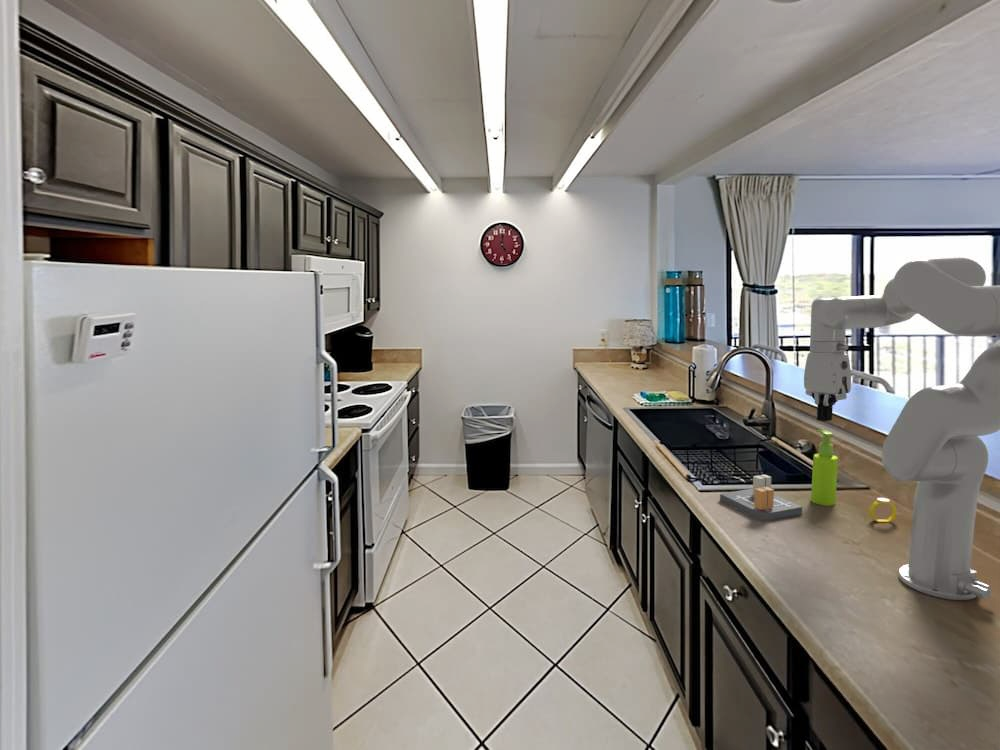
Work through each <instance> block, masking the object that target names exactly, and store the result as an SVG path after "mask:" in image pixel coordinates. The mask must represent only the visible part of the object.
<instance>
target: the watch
mask: <svg viewBox="0 0 1000 750" xmlns="http://www.w3.org/2000/svg"><path fill="white" fill-rule="evenodd" d="M881 504H882V505H883V504H884V505H890V506H891V510H892V511H891V514H890V516H888V518H885V519H884V518H883V519H877V518H876V517H875V515H874V513H875V512H874V511H875V509H876V508H877V506H879V505H881ZM868 514H869V516H870V517H871V519H872V520H873V521H875V522H876V523H878V524H879V523H891V522H893V521H894V520H895V518H897V514H898V510H897V507H896V505H895V504H894V503H893V502H891V500H890V499H889V498H886V497H877V498H876V500H875V501H873V502H872V503H871V505H870V506H869V510H868Z"/></svg>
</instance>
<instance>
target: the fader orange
mask: <svg viewBox="0 0 1000 750" xmlns="http://www.w3.org/2000/svg"><path fill="white" fill-rule="evenodd" d="M774 495H775V489H774V488H772V487H771V488H769V487H760V488H756V489H755V496H754V507H755V508H758V509H760V510H764V509H770V508H773V500H774Z"/></svg>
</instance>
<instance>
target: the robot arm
mask: <svg viewBox="0 0 1000 750" xmlns="http://www.w3.org/2000/svg"><path fill="white" fill-rule="evenodd" d="M986 280H987V275H986V271H985V269H984V268H983V266H982V265H980V264H979V263H978V262H977V261H975V260H972V259H970V258H966V257H959V256H958V257H957V256H955V257H954V256H953V257H922V258H916V259H911V260H910V261H908V262H906V263H904V264H903V265H901V267H900V268H899V269H898V270H897V271H896V273H895V275H894V276H893V278H892V279H890V280H889V281H888V282H887V283H886V285H885V287H884V290H883V294H879V295H878V294H877V295H857V296H856V295H854V296H837V297H825V298H816V299H814V300H813V301H812V302H811V305H810V306H811V308H810V309H811V311H810V314H811V315H810V337H809V339H810V341H809V352H808V354H807V357H806V359H805V360H806V361H805V366H804V372H803V373H804V374H803V388H804V389H805V392H804V393H805V394H806V395H807V396H808V397H809V396H810V397H812V398H813V400H814V404H815V405H816V408H817V410H816V421H818V422H819V421H821V422H830V421H832V419H833V406H835V405H836V403H837V402H838V401H844V400H846V399H847V394H849V393H850V392H851V389H852V388H851V387H852V375H851V373H852V372H851V363H850V357H849V355H848V353H846V352H845V351H847V350H849V345H848V344H846V331H847V330H852V329H853V330H855V329H874V328H875V329H877V328H882V327H886V326H887V327H888V326H891V325H894V324H898V323H902V322H906V321H909V320H911V318H913V317H914V316H915V315H917V314H918V315H920V316H922V318H924V319H926V320H927V321H929V322H930V323H931V324H933V325H935V326H936V327H938V328H939V329H940V330H943V331H944V332H946V333H948V334H952V335H954V336H958V337H959V336H960V337H985V336H987V337H989V336H1000V285H986V284H985V283H986ZM999 431H1000V338H999V339H998V340H997V341H996V342H994V343H992V344H991V346H989V347H988V348H986V349H985V350H983V352H981V354H979V356H977V358H975V361H973V363H972V365H971V367H970V369H969V370H968V372H967V373H966V374H965V376H964V377H963V378H962V380H960V381H959V382H957V383H955V384H948V385H934V386H928V387H925V388H922V389H920V390H918V391H917V392H915V393H914V394H913V395H912V396H911V397H910V398H909V399H907V401H906V403H905V405H904V406H903V408H902V410H901V411H900V414H899V415H898V417H897V418H896V421H894V424H893V426H892V427H891V429H890V431H889V432H888V435H887V436H886V438H885V440H884V443H883V446H882V449H881V462H882V465H883V467H884V469H885V470H886V472H887V473H888V474H889V475H890V476H891V477H893V478H894V479H897V480H900V481H902V482H909V483H910V482H911V483H914V482H915V483H916V482H917V483H918V484H917V487H916V489H915V493H914V497H913V506H912V508H913V510H912V522H911V533H910V534H911V535H910V545H909V557H908V564H903V565H902V566H901V567H899V568H898V573H897V574H898V578H899V579H900V580H901V582H903V583H904V584H905V585H907V586H908V587H910V588H912V589H914V590H916V591H918V592H920V593H922V594H924V595H925V594H926V595H929V596H933V597H935V598H940V599H944V600H945V599H946V600H952V601H969V600H973V599H975V598H977V597H978V598H980V599H982V600H984V601H987V600H989V598H990V596H991V591H992V586H991V585H988V584H986V583H984V582H982V581H979V580H978V578H977V571H976V570H974V569H971V565H972V553H973V545H974V544H973V541H974V533H975V524H976V523H975V521H976V516H977V506H978V505H977V504H978V499H979V498H978V497H979V493H980V488H981V485H982V483H983V479H984V476H985V474H986V471H987V469H988V463H989V452H988V448H987V445H986V444H985V443H984V441H983V440H982V439H981V438H980V437H982V436H989V435H992V434H994V433H997V432H999Z"/></svg>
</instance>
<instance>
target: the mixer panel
mask: <svg viewBox="0 0 1000 750" xmlns="http://www.w3.org/2000/svg"><path fill="white" fill-rule="evenodd" d="M754 496H755V494H753V488H747V489H742V490H736V491H735V490H733V491H730V492H724V493H722V492H721V493H720V494H719V501H720V502H722V503H724V504H726V505H728V506H730V507H732V508H734V509H737V510H739V511H740V512H743V513H744V514H746V515H748V516H751V517H752V518H755V519H757V520H759V521H760V522H767V521H773V520H777V519H779V520H780V519H784V518H788V517H795V516H799V515H803V506H801V505H800V504H799V505H798V504H797V503H795V502H792V501H789V500H787V499H785V498H782V497H780V496H778V495H776V494H774V500H773V508H770V509H764V510H760V509H758V508H755V507H754Z"/></svg>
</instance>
